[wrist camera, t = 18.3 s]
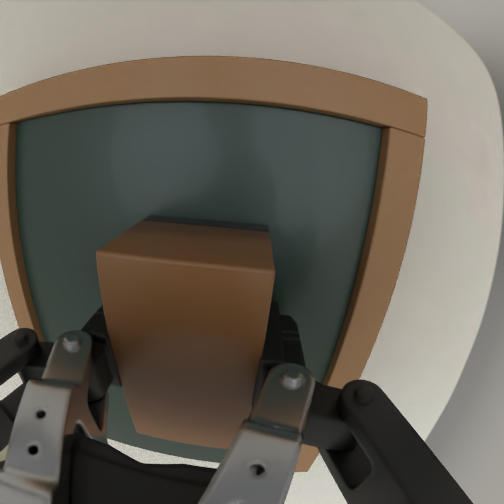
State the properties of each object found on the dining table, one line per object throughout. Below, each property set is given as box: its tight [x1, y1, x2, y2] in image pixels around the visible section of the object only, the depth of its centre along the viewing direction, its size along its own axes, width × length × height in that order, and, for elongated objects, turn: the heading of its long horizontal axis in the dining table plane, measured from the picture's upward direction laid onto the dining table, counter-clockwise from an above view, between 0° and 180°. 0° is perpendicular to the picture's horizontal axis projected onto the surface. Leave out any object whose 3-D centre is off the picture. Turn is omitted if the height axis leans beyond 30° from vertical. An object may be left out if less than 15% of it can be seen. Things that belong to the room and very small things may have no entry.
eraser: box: [96, 216, 275, 449], centre depth 9 cm, size 8×4×4 cm, turn 174°
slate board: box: [0, 56, 427, 472], centre depth 12 cm, size 24×19×2 cm
